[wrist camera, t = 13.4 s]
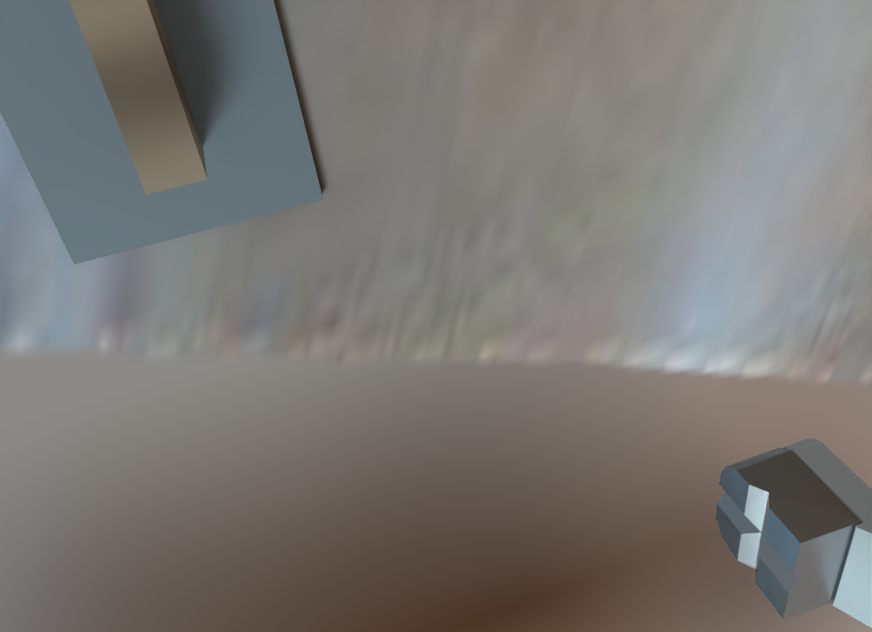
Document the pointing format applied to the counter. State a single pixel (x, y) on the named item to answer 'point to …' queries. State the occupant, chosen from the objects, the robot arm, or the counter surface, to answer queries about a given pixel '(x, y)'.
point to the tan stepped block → (143, 90)
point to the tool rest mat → (104, 143)
